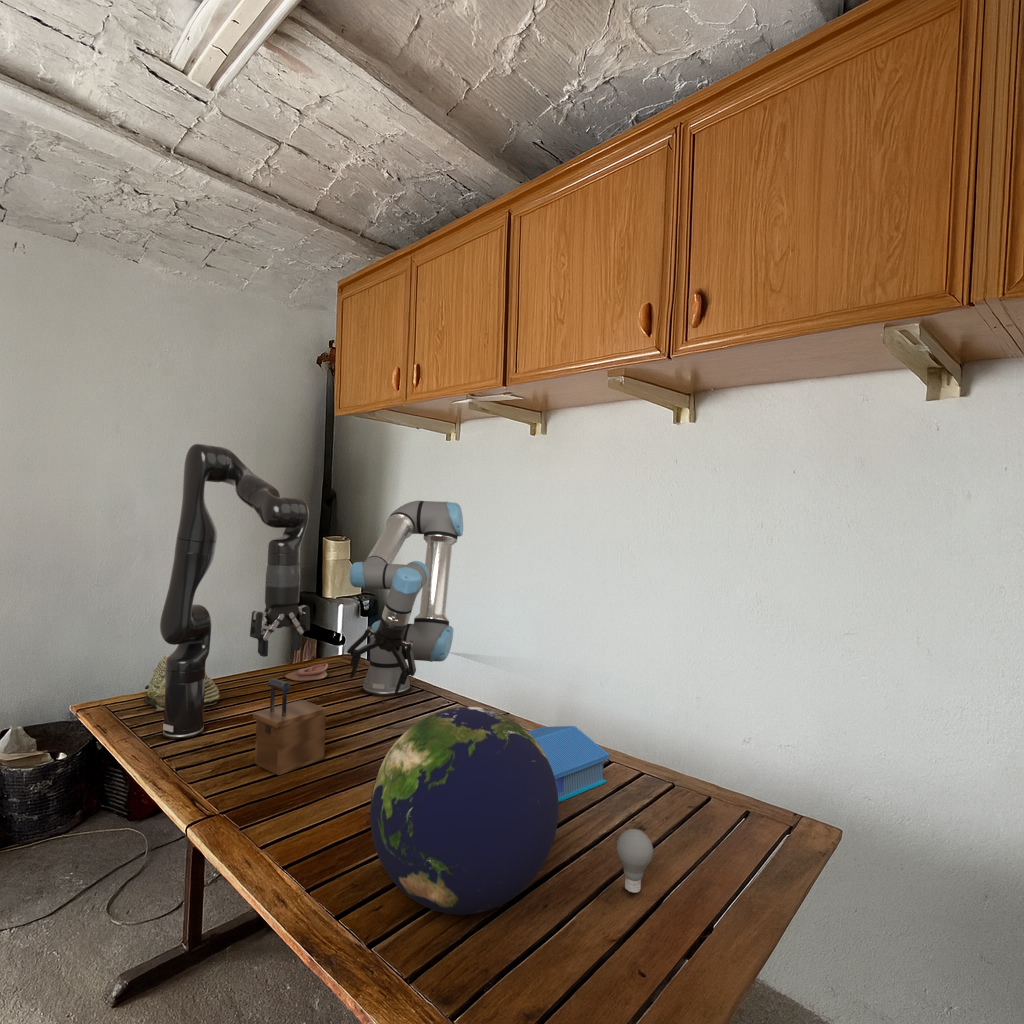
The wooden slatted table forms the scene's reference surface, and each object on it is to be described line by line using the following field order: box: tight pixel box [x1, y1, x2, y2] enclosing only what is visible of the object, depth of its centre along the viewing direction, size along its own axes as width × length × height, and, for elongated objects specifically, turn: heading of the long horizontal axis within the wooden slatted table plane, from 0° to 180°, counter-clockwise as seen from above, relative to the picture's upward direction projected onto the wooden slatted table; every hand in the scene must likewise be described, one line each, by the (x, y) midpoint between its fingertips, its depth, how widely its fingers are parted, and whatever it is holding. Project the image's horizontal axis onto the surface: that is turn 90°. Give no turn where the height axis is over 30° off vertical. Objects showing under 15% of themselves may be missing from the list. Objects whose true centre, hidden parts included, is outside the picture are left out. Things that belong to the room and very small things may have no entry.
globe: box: [369, 706, 560, 916], centre depth 102 cm, size 30×30×30 cm
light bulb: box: [615, 828, 654, 894], centre depth 106 cm, size 6×6×10 cm
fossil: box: [146, 654, 221, 712], centre depth 185 cm, size 9×18×15 cm, turn 132°
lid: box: [252, 677, 327, 728], centre depth 150 cm, size 13×10×9 cm
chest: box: [254, 713, 327, 776], centre depth 151 cm, size 12×10×11 cm
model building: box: [526, 725, 610, 803], centre depth 140 cm, size 39×24×10 cm, turn 132°
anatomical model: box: [284, 662, 329, 682], centre depth 220 cm, size 13×4×12 cm
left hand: (280, 652), depth 147 cm, fingers open, 8 cm apart
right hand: (374, 684), depth 183 cm, fingers open, 13 cm apart
